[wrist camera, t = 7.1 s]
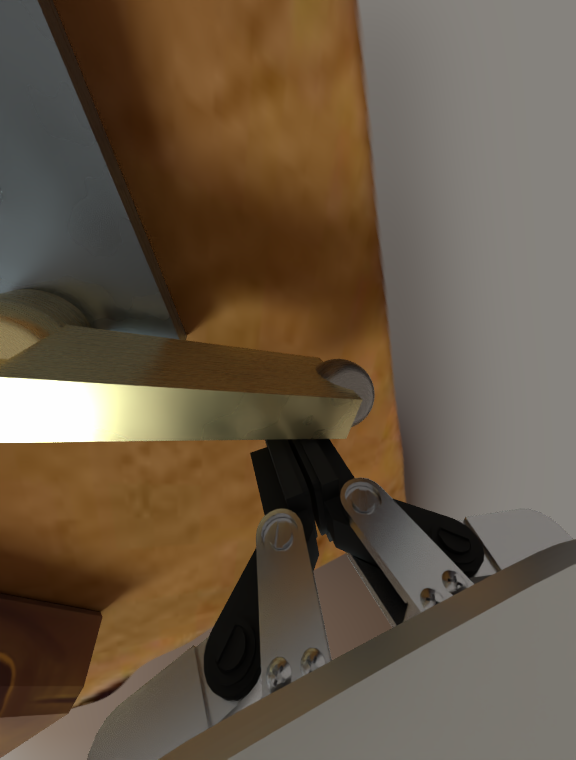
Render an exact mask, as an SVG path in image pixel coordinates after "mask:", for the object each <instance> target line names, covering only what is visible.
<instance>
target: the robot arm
mask: <svg viewBox="0 0 576 760" xmlns="http://www.w3.org/2000/svg"><path fill="white" fill-rule="evenodd" d="M265 441H266V445H267V447H266V448H263V449H260V450H257V451H254V452H252V453H250V454H251V459H252V463H253V467H254V471H255V476H256V480H257V484H258V489H259V493H260V497H261V501H262V506H263V510H264V514H265V516H264V517H263V519H262V520H261V521H260V523H259V526H258V528H257V533H256V549H255V551H254V553H253V555H252V556H251V558H250V560H249V562H248V564H247V566H246V568H245V569H244V571H243V573H242V575H241V577H240V579H239V581H238V583H237V584H236V586H235V588H234V590H233V592H232V594H231V596H230V597H229V599H228V601H227V603H226V605H225V607H224V609H223V610H222V612H221V614H220V616H219V618H218V620H217V622H216V623H215V625H214V627H213V629H212V631H211V633H210V636H209V637H208V638H206V639H205V640H204V641H203V642H201V643H200V644H199V645H198V646H196V647H195V646H192V647H191V648H189V649H188V650H187V651H186V652H185V653H183V654H182V655H181V656H180V657H178V658H177V659H176V660H175V661H173V662H172V663H171V664H170V665H168V666H167V667H166V668H165V669H163V670H162V671H161V672H160V673H159V674H157V675H156V676H155V677H154V678H152V679H151V680H150V681H148V682H147V683H146V684H145V685H143V686H142V687H141V688H140V689H139V690H137V691H136V692H135V693H134V694H132V695H131V696H130V697H129V698H127V699H126V700H125V701H124V702H122V703H121V704H120V705H119V706H118V707H117V708H116V709H115V710H114V711H113V712H112V713H111V714H110V715H109V716H108V717H107V718H106V720H105V721H104V723H103V725H102V726H101V728H100V729H99V731H98V733H97V734H96V736H95V739H94V741H93V744H92V747H91V749H90V751H89V754H88V758H87V760H576V539H573V538H572V537H571V536H570V535H569V534H568V533H567V532H566V531H565V530H564V529H563V528H562V527H561V526H560V525H559V524H557V523H556V522H555V521H554V520H552V519H551V518H550V517H548V516H546V515H544V514H542V513H541V512H538V511H535V510H531V509H516V510H509V511H502V512H496V513H489V514H482V515H475V516H468V517H465V519H464V520H459V521H457V520H455V519H453V518H450V517H447V516H444V515H440V514H438V513H435V512H432V511H428V510H425V509H423V508H420V507H416V506H413V505H410V504H407V503H404V502H401V501H398V500H395V499H392V498H391V497H390V496H389V495H388V494H387V493H386V492H385V491H384V490H383V489H382V488H381V487H380V486H379V485H378V484H377V483H375V482H374V481H372V480H369V479H366V478H354V476H353V475H352V473H351V472H350V470H349V469H348V467H347V466H346V464H345V462H344V461H343V459H342V458H341V456H340V455H339V453H338V452H337V450H336V449H335V447H334V446H333V444H332V443H331V441H330V440H329V439H265ZM314 519H315V520H314ZM315 522H316V524H317V526H318V529H319V531H320V533H321V535H324V534H326V535H327V537H328V539H329V541H330V542H331V541H333V542H334V544H335V547H336V548H339V549H341V550H343V551H345V552H346V554H347V556H348V558H349V559H350V561H351V563H352V564H353V566H354V567H355V569H356V570H357V572H358V574H359V575H360V577H361V578H362V580H363V582H364V583H365V585H366V586H367V588H368V589H369V591H370V593H371V594H372V596H373V597H374V599H375V601H376V602H377V604H378V605H379V607H380V608H381V610H382V612H383V613H384V615H385V616H386V618H387V619H388V621H389V623H390V624H391V626H392V627H393V628H392V629H390V630H388V631H386V632H384V633H382V634H380V635H379V636H377V637H375V638H373V639H371V640H369V641H368V642H366V643H364V644H362V645H360V646H358V647H356V648H354V649H353V650H351V651H349V652H347V653H345V654H343V655H341V656H340V657H338V658H336V659H334V660H331V655H330V650H329V645H328V640H327V635H326V630H325V626H324V621H323V616H322V611H321V606H320V601H319V597H318V592H317V587H316V582H315V577H314V573H313V571H314V568H315V565H316V562H317V559H318V556H319V552H318V546H317V541H316V538H317V531H316V525H315Z"/></svg>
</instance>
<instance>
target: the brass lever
mask: <svg viewBox="0 0 576 760" xmlns="http://www.w3.org/2000/svg"><path fill="white" fill-rule="evenodd" d="M373 402H374V387H373V383H372V381H371V379H370V377H369V375H368V374H367V373H366V371H365V370H364V369H363V368H362V367H360V366H359V365H357V364H356V363H354V362H351V361H349V360H345V359H331V360H327V361H324V362H323V361H322V360H321V359H320V358H317V357H309V356H302V355H294V354H286V353H279V352H271V351H263V350H256V349H248V348H240V347H233V346H225V345H218V344H210V343H202V342H195V341H187V340H179V339H172V338H164V337H156V336H149V335H141V334H133V333H126V332H118V331H110V330H103V329H95V328H92V326H91V324H90V322H89V321H88V319H87V318H86V317H85V315H84V314H83V313H82V312H81V311H80V310H79V309H78V308H77V307H75V306H74V305H73V304H71V303H70V302H68V301H67V300H65V299H63V298H61V297H59V296H57V295H54V294H52V293H49V292H45V291H41V290H34V289H19V290H14V291H9V292H5V293H1V294H0V442H85V441H174V440H264V439H346V438H347V435H348V433H349V431H350V428H351V427H353V426H355V425H357V424H359V423H360V422H361V421H363V420H364V419H365V418H366V416H367V415H368V414H369V412H370V410H371V408H372V406H373Z"/></svg>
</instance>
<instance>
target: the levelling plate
mask: <svg viewBox="0 0 576 760" xmlns="http://www.w3.org/2000/svg"><path fill="white" fill-rule="evenodd" d="M19 289H34V290H41V291H45V292H49V293H52V294H54V295H57V296H59V297H61V298H63V299H65V300H67V301H68V302H70V303H71V304H73V305H74V306H75V307H77V308H78V309H79V310H80V311H81V312H82V313H83V314H84V315H85V317H86V318H87V319H88V321H89V322H90V324H91V326H92V328H95V329H103V330H110V331H118V332H126V333H133V334H141V335H149V336H156V337H164V338H172V339H179V340H186V338H187V336H186V333H185V331H184V328H183V326H182V323H181V321H180V318H179V316H178V313H177V310H176V308H175V305H174V303H173V300H172V298H171V295H170V293H169V290H168V288H167V285H166V283H165V280H164V278H163V275H162V273H161V270H160V268H159V265H158V263H157V260H156V258H155V255H154V253H153V250H152V248H151V245H150V243H149V240H148V238H147V235H146V233H145V230H144V228H143V225H142V223H141V220H140V218H139V215H138V213H137V210H136V208H135V205H134V203H133V200H132V198H131V195H130V193H129V190H128V188H127V185H126V183H125V180H124V178H123V175H122V173H121V170H120V168H119V165H118V163H117V160H116V158H115V155H114V153H113V150H112V148H111V145H110V143H109V140H108V138H107V135H106V133H105V130H104V128H103V125H102V123H101V120H100V118H99V115H98V113H97V110H96V108H95V105H94V103H93V100H92V98H91V95H90V93H89V90H88V88H87V85H86V83H85V80H84V78H83V75H82V73H81V70H80V68H79V65H78V63H77V60H76V58H75V55H74V53H73V50H72V48H71V45H70V43H69V40H68V38H67V35H66V33H65V30H64V27H63V25H62V22H61V20H60V17H59V15H58V12H57V10H56V7H55V5H54V2H53V0H0V294H1V293H5V292H9V291H14V290H19Z"/></svg>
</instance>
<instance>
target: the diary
mask: <svg viewBox="0 0 576 760" xmlns="http://www.w3.org/2000/svg"><path fill="white" fill-rule="evenodd" d="M101 620H102V615H101V613H100V612H97V611H91V610H86V609H81V608H75V607H70V606H64V605H59V604H54V603H48V602H43V601H37V600H32V599H27V598H21V597H16V596H10V595H5V594H0V758H1V757H3V756H4V755H6V754H7V753H9V752H10V751H12V750H13V749H15V748H16V747H18V746H19V745H21V744H22V743H24V742H25V741H27V740H28V739H30V738H31V737H33V736H34V735H36V734H38V733H39V732H40V731H42V730H44V729H45V728H47V727H48V726H50V725H51V724H53V723H54V722H56V721H57V720H59V719H60V718H62V717H63V716H65V715H67V714H68V713H69V711H70V709H71V708H72V706H73V704H74V702H75V701H76V699H77V697H78V695H79V694H80V692H81V690H82V688H83V687H84V684H85V680H86V676H87V672H88V669H89V665H90V661H91V658H92V654H93V650H94V646H95V643H96V639H97V635H98V631H99V628H100V624H101Z"/></svg>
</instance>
